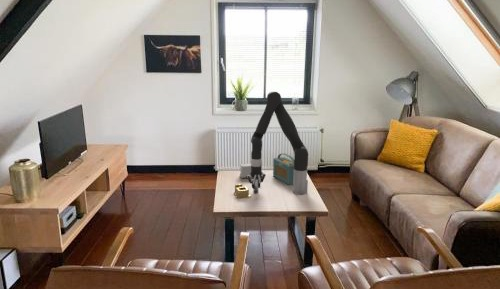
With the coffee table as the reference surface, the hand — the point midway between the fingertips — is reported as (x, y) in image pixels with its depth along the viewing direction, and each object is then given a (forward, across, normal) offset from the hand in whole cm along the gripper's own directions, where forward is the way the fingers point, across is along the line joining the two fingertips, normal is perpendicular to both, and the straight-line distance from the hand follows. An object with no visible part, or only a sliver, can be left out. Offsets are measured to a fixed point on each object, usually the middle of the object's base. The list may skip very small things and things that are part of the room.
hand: (255, 188), depth 258 cm
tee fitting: (+3, +11, +1) cm, 11 cm away
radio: (+3, -32, -19) cm, 37 cm away
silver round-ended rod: (+3, 0, 0) cm, 3 cm away
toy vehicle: (+4, -9, -34) cm, 35 cm away
